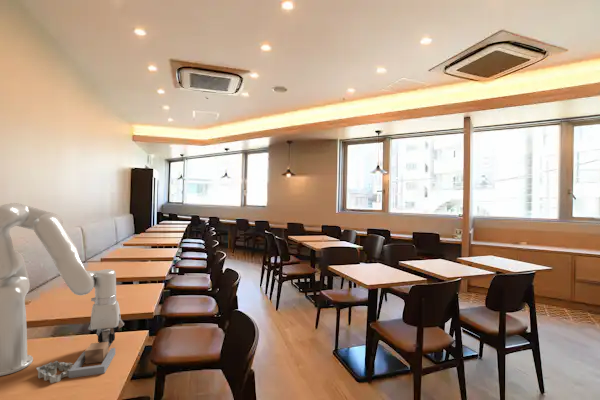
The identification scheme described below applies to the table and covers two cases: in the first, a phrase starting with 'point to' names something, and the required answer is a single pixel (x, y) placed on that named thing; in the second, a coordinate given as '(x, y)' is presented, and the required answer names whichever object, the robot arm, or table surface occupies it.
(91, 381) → the table surface
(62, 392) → the table surface
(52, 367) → the grey rough openwork block
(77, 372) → the lane rack
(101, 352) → the tan block with knob
